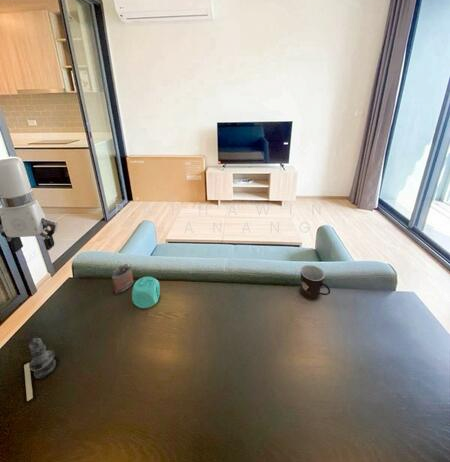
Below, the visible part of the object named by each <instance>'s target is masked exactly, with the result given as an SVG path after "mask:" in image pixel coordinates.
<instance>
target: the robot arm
mask: <svg viewBox="0 0 450 462" xmlns="http://www.w3.org/2000/svg"><path fill="white" fill-rule="evenodd" d="M0 204H1V205H0V221H1V224H0V235H1V236H2V237H3V238H5V239H6V241H7V242H9V243H10V245H11V249H12V251H13V252H14V253H17V252H19V251H20V250H22V248H23V247H24V244H23V242H22V239H21V238H27V237H39V236H41V237H42V238H44V239H43V243H44V247H45V249H46V251H50V250H51V249H52V248H53V247H55V240H54V237H53V236H54V234H55V233H56V232H57V228H58V226H59V224H58V222H55V221H52V220H50V219H47V218H46V217H47V216H46V215H45V212H44V210H43V208H42V206H41V205H40V203H39V201H38V200H36V199H35V196H34V192H33V189H32V186H31V183H30V180H29V177H28V173H27V170H26V166H25V164H24V160H22V158H20V157H19V156H3V157H0Z"/></svg>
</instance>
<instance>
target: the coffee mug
mask: <svg viewBox="0 0 450 462" xmlns="http://www.w3.org/2000/svg"><path fill="white" fill-rule="evenodd" d="M325 276H326V274H325V271H324V270H323V269H322V268H320V267H318V266H316V265H312V264H307V265H304V266H302V267H301V268H300V293H301V296H302V297H303V298H305V299H307V300H316V299H318V298H319V295H322V296H328V295H330V294H331V288H330V286H329V285H328V284H326V283H324V280H325ZM322 286H324V287H326V289H327V291H328V292H327V293H324V292H321V290H322Z"/></svg>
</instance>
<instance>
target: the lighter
mask: <svg viewBox="0 0 450 462" xmlns="http://www.w3.org/2000/svg"><path fill="white" fill-rule="evenodd" d="M111 280H112V282H113V286H114V293H115V294H117V295H118V294H120V293H122V292H125V291H126V290H127V289H129V288H131V287H132V286H133V285H134V284H135V280H134V277H133V272H132V266H129V264H127V263H126V264H123V265H120V266H119V267H118V268H116V269H115V270H113V271H112V275H111Z"/></svg>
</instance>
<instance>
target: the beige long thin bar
mask: <svg viewBox="0 0 450 462" xmlns="http://www.w3.org/2000/svg"><path fill="white" fill-rule="evenodd" d="M29 364H30V362H27V363H26V364H24V365H23V368H24V369H23V370H24V381H25V393H26V402H29V401H31V400H33V398H34V394H33V386H32V376H31V370H30V368H29Z"/></svg>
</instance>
